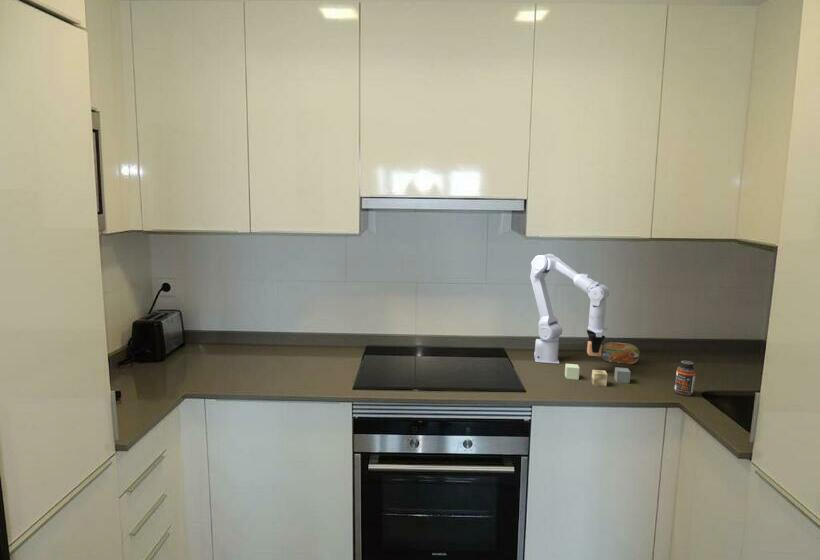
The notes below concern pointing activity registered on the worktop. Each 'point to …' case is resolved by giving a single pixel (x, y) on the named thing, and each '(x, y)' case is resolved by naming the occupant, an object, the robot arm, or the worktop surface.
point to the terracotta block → (589, 350)
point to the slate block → (622, 375)
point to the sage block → (572, 371)
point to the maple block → (599, 377)
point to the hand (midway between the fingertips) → (594, 350)
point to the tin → (620, 353)
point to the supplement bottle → (685, 378)
